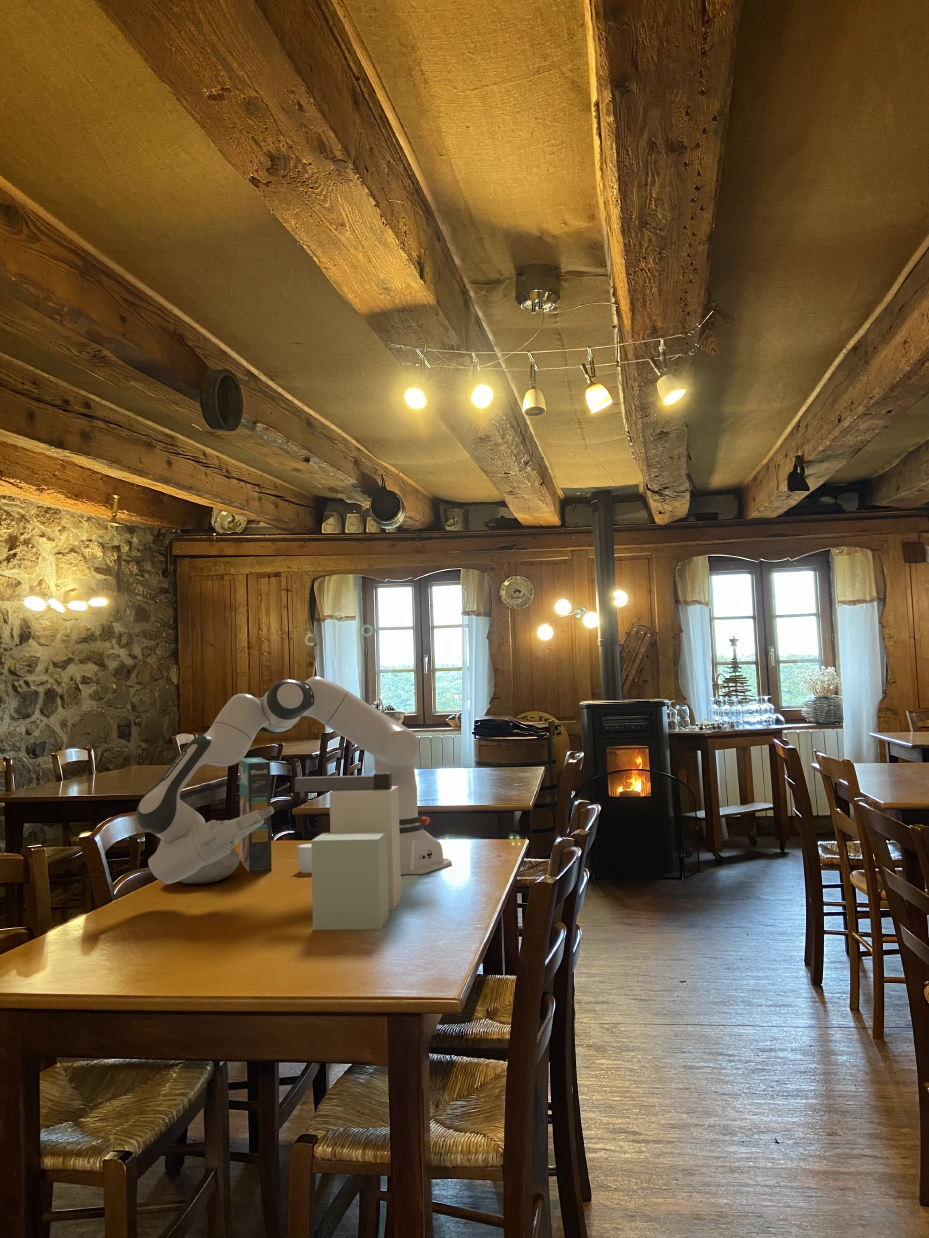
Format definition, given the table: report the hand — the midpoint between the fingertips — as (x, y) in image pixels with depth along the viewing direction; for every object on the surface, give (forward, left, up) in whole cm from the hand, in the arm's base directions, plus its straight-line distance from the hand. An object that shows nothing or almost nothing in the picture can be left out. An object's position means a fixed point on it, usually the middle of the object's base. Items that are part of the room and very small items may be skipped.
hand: (265, 811), depth 203 cm
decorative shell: (-5, -38, -22) cm, 44 cm away
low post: (-3, +28, -21) cm, 35 cm away
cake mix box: (-25, -46, -22) cm, 57 cm away
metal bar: (-12, +14, +5) cm, 19 cm away
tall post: (-15, +18, -21) cm, 32 cm away
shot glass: (-30, -26, -22) cm, 45 cm away
